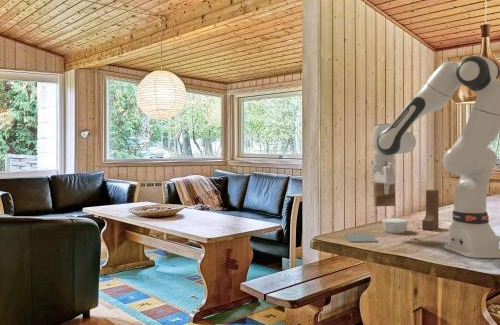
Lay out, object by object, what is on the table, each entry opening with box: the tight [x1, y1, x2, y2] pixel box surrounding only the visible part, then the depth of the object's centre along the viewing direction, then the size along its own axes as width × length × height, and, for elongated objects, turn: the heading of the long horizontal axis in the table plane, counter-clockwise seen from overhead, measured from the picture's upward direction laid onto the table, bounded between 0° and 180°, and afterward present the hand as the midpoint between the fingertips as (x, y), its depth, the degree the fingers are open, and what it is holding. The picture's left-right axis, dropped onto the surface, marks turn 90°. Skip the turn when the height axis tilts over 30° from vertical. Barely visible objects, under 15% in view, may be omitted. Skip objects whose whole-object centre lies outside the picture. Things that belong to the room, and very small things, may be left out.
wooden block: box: [421, 189, 440, 231], centre depth 210 cm, size 9×4×18 cm, turn 139°
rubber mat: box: [343, 232, 379, 243], centre depth 192 cm, size 16×11×1 cm
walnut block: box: [373, 182, 396, 207], centre depth 195 cm, size 4×8×10 cm, turn 89°
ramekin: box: [381, 217, 409, 234], centre depth 206 cm, size 11×11×5 cm
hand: (384, 193), depth 195 cm, fingers closed on walnut block, 4 cm apart
